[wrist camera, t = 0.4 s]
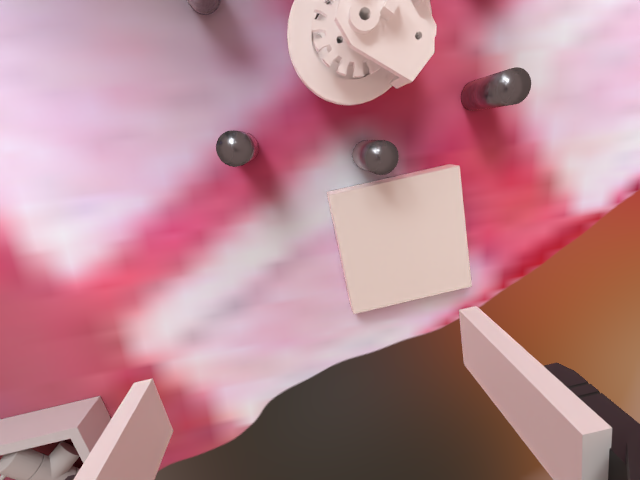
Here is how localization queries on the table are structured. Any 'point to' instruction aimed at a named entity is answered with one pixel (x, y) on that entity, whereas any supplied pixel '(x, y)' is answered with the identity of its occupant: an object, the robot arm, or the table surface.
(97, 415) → the storage bin
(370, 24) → the mechanical part
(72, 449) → the faucet
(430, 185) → the parts stand
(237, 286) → the table surface
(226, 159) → the standoff posts
